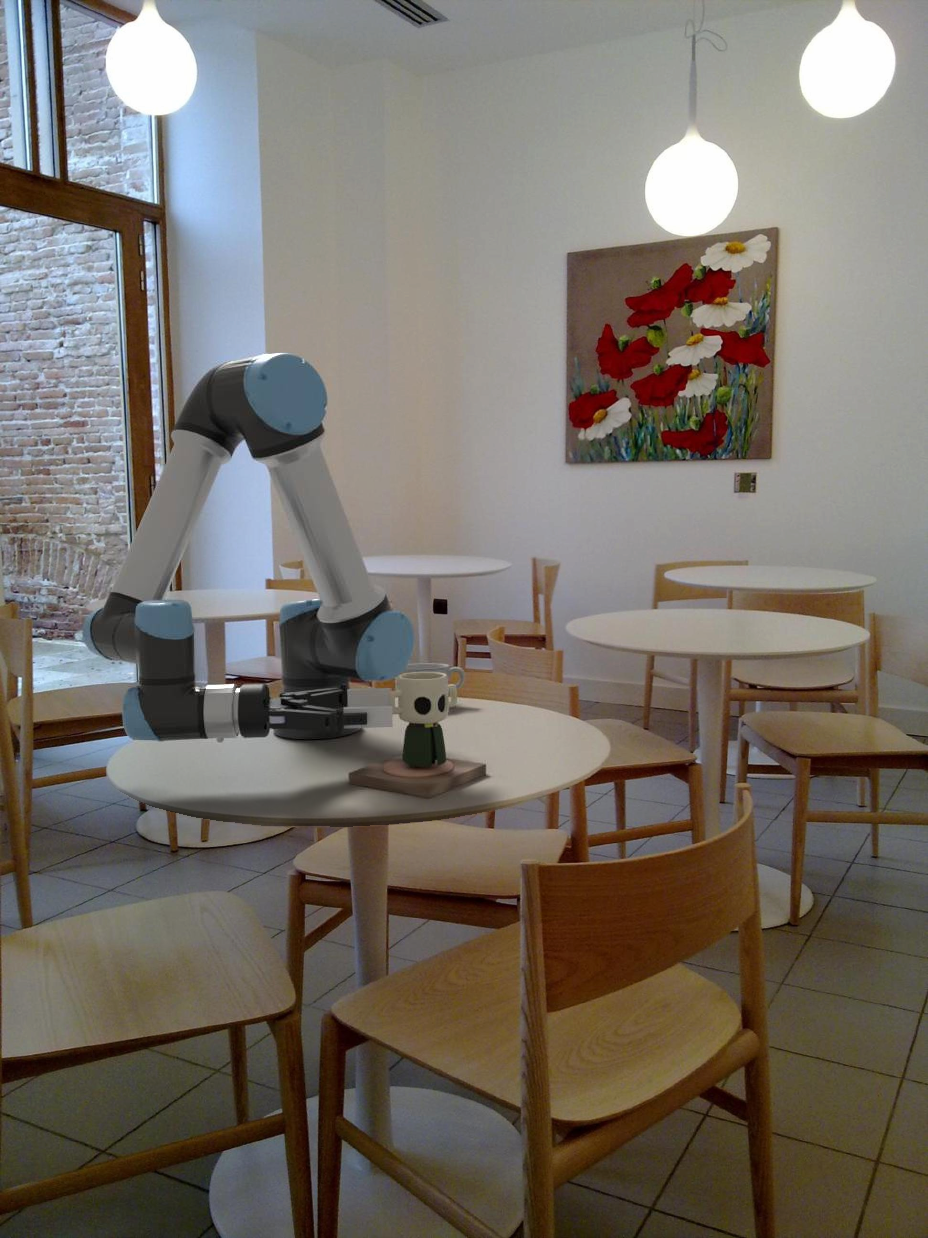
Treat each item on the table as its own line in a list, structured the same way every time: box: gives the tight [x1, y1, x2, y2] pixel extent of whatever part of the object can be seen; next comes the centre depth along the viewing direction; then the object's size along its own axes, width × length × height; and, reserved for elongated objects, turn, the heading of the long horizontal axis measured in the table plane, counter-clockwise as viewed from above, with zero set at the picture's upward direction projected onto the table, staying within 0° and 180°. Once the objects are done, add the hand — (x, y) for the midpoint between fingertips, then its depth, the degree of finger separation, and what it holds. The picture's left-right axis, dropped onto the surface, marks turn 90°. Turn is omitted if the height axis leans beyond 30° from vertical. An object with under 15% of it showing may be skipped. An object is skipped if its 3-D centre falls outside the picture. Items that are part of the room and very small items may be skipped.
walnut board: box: [348, 753, 487, 799], centre depth 143 cm, size 14×14×2 cm
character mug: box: [388, 672, 458, 767], centre depth 143 cm, size 11×7×13 cm, turn 120°
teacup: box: [394, 662, 467, 697], centre depth 196 cm, size 14×11×8 cm
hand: (392, 706), depth 142 cm, fingers open, 13 cm apart
